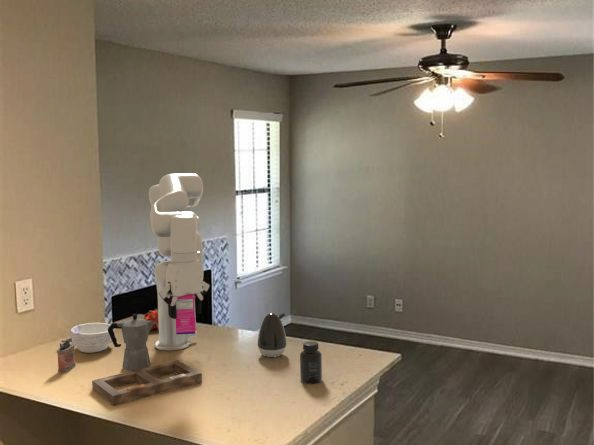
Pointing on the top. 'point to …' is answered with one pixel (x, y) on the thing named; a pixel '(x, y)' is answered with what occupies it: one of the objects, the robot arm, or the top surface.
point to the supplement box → (185, 315)
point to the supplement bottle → (310, 363)
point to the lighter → (66, 356)
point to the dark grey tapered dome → (272, 336)
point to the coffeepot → (133, 342)
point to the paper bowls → (91, 337)
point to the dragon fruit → (153, 318)
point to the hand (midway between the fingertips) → (185, 315)
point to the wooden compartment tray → (146, 382)
